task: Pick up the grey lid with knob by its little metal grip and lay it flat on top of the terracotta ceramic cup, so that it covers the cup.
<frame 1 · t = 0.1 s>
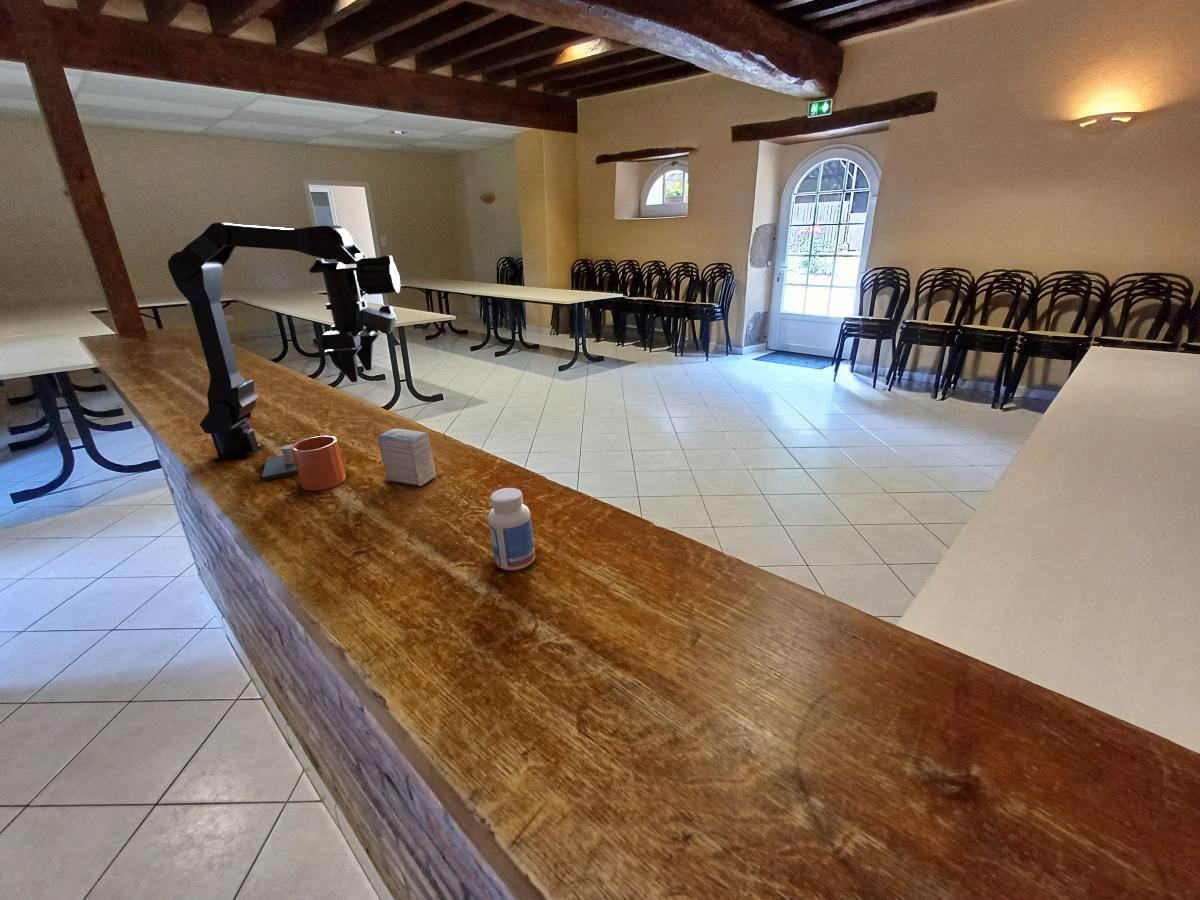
hand: (361, 375, 111), 15 cm above the bar counter, tool pointing down, fingers open, 9 cm apart
cup: (324, 481, 100), on the bar counter
pill bottle: (515, 560, 74), on the bar counter
stack of paper cards: (411, 480, 99), on the bar counter
grey lid with knob: (294, 465, 108), on the bar counter
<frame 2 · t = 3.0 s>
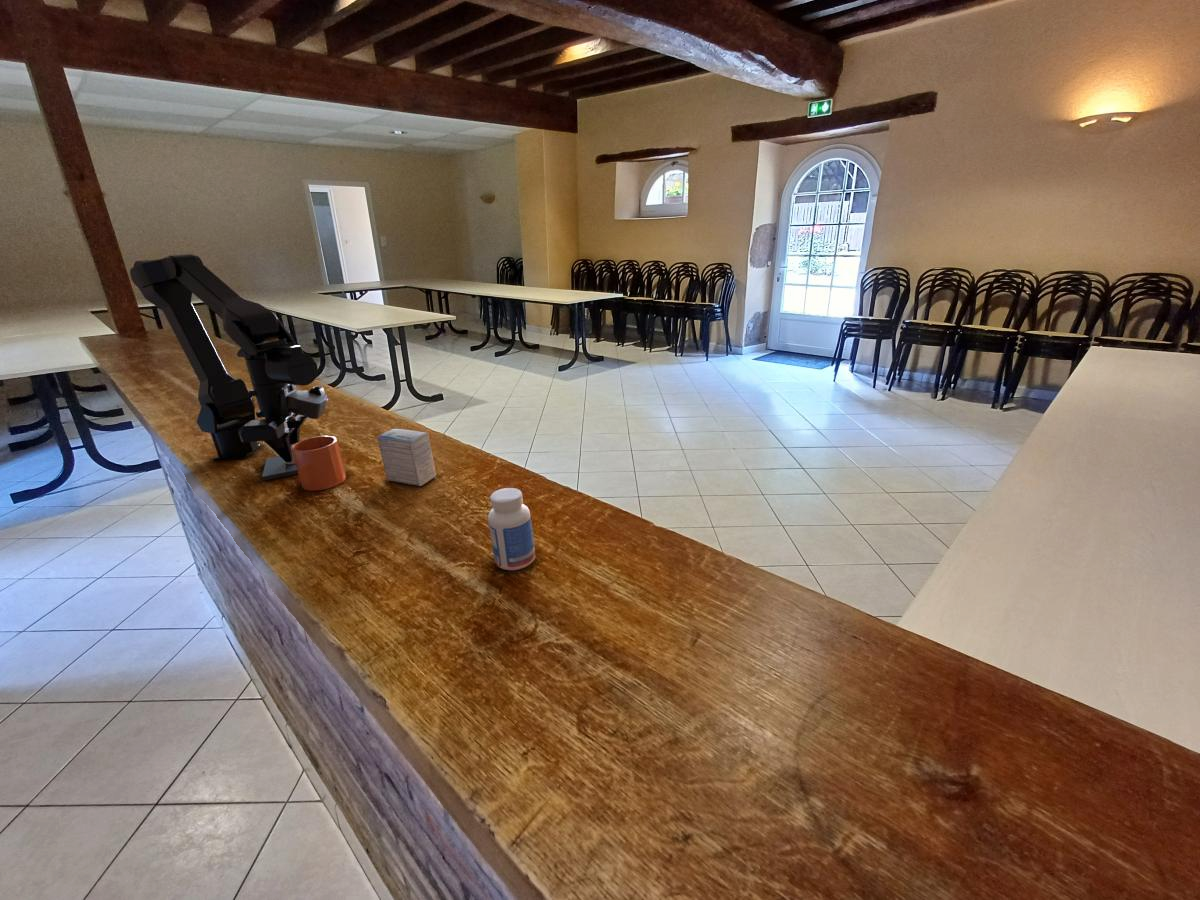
hand: (292, 458, 107), 1 cm above the bar counter, tool pointing down, fingers closed on grey lid with knob, 2 cm apart
grey lid with knob: (294, 465, 108), on the bar counter, touching gripper
everything else where it was.
when the fingers open (9 cm above the bar counter, at t = 6.3 s): grey lid with knob stays where it is, resting on cup.
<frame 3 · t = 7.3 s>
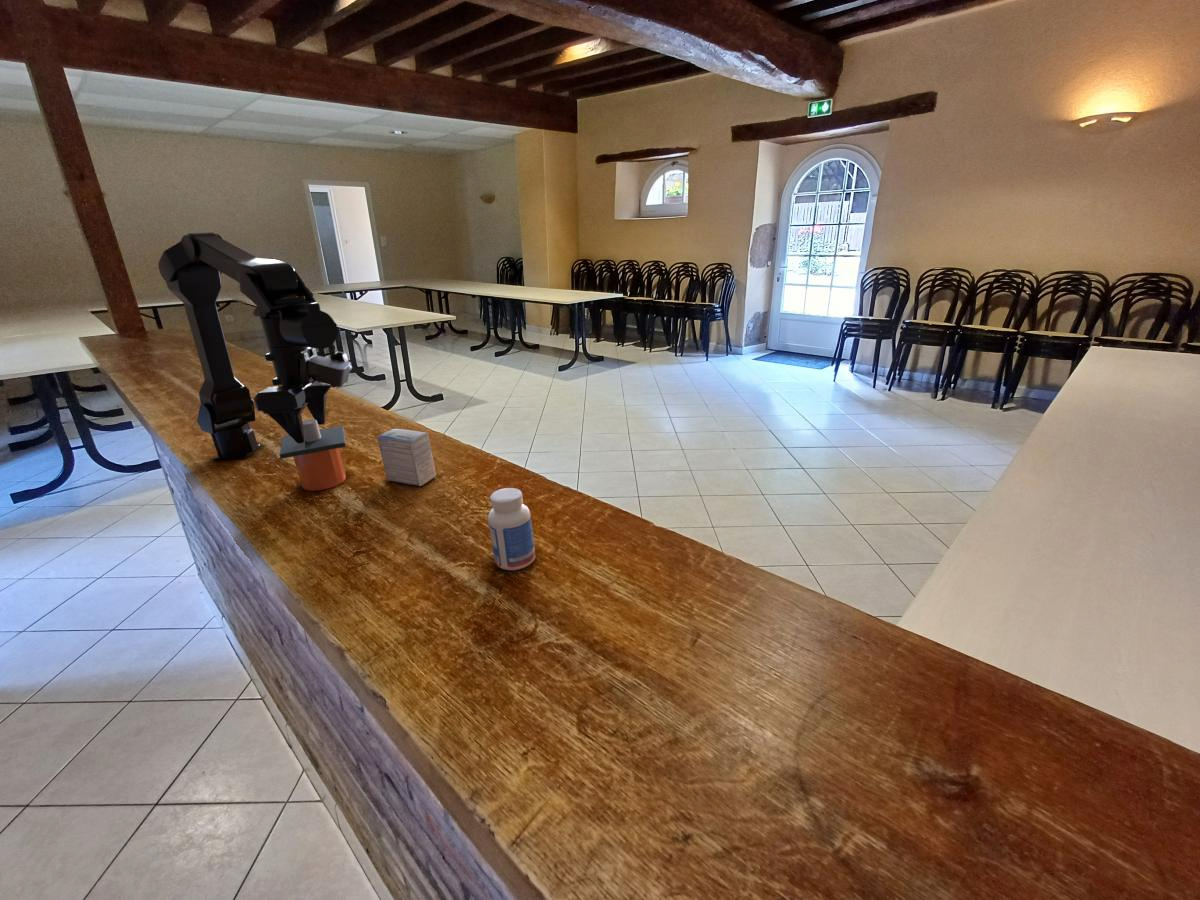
hand: (311, 433, 96), 9 cm above the bar counter, tool pointing down, fingers open, 9 cm apart
cup: (324, 481, 100), on the bar counter, touching grey lid with knob
grey lid with knob: (314, 443, 97), point 7 cm above the bar counter, touching cup
everything else where it was.
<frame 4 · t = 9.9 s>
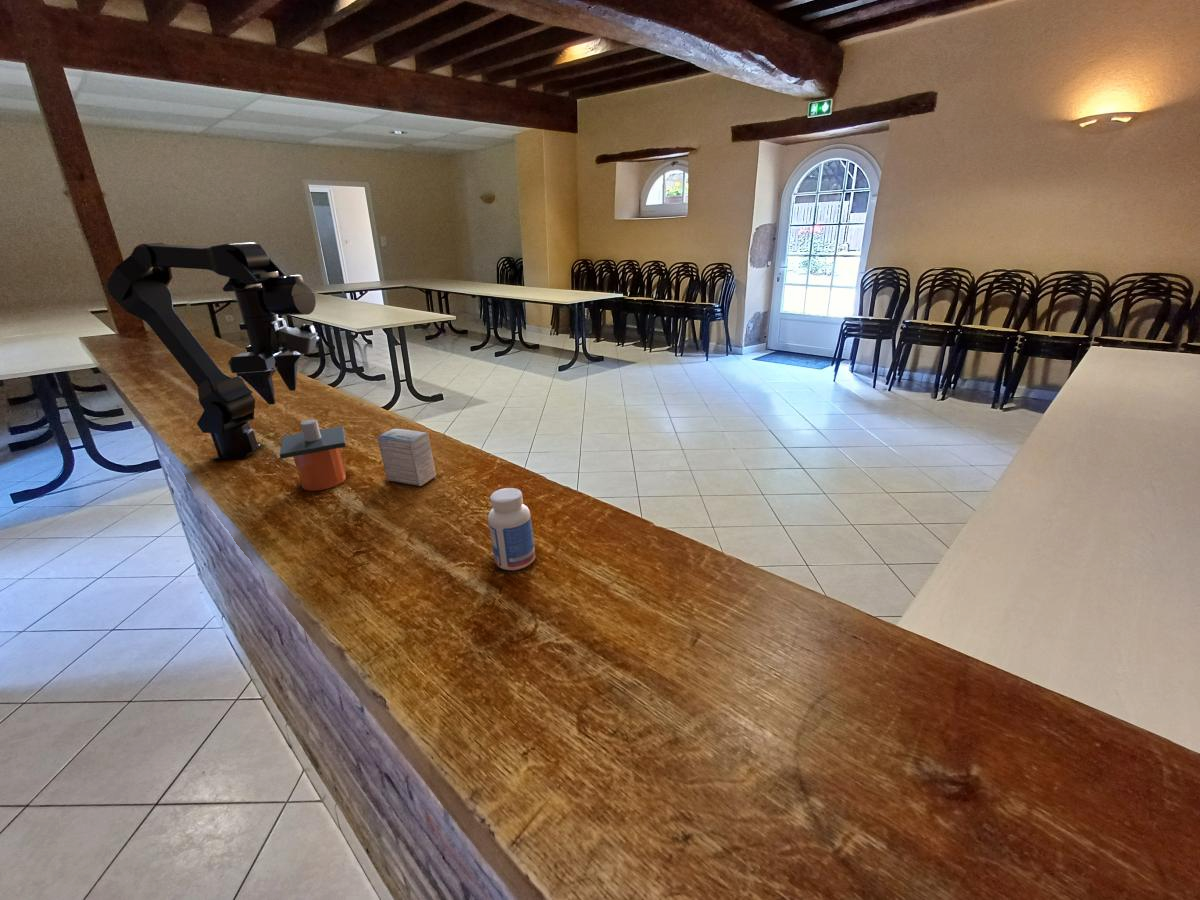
hand: (283, 397, 107), 13 cm above the bar counter, tool pointing down, fingers open, 9 cm apart
nothing on the bar counter moved.
at the end: grey lid with knob 0.0 cm off-centre on the cup, point 7.5 cm above the cup's base; grey lid with knob tilted 0°; cup tilted 0° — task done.
